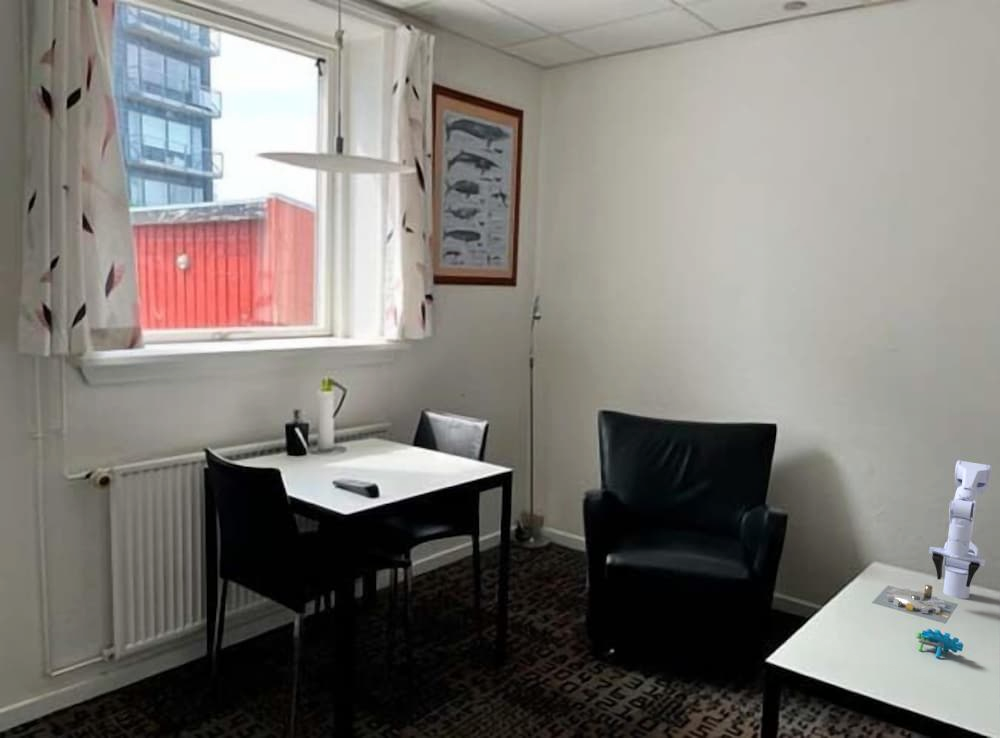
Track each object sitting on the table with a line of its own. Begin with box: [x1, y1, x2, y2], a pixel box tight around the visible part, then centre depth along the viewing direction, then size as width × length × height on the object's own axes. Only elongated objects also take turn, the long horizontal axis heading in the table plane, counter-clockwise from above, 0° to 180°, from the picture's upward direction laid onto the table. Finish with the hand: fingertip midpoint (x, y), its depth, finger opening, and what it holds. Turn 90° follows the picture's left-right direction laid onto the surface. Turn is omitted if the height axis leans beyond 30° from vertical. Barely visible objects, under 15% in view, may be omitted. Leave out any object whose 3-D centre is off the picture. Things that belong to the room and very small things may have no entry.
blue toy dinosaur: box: [915, 628, 964, 659], centre depth 205 cm, size 11×6×10 cm
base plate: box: [871, 585, 959, 624], centre depth 238 cm, size 20×20×1 cm
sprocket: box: [886, 584, 946, 614], centre depth 237 cm, size 16×16×5 cm
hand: (953, 582), depth 234 cm, fingers open, 7 cm apart
